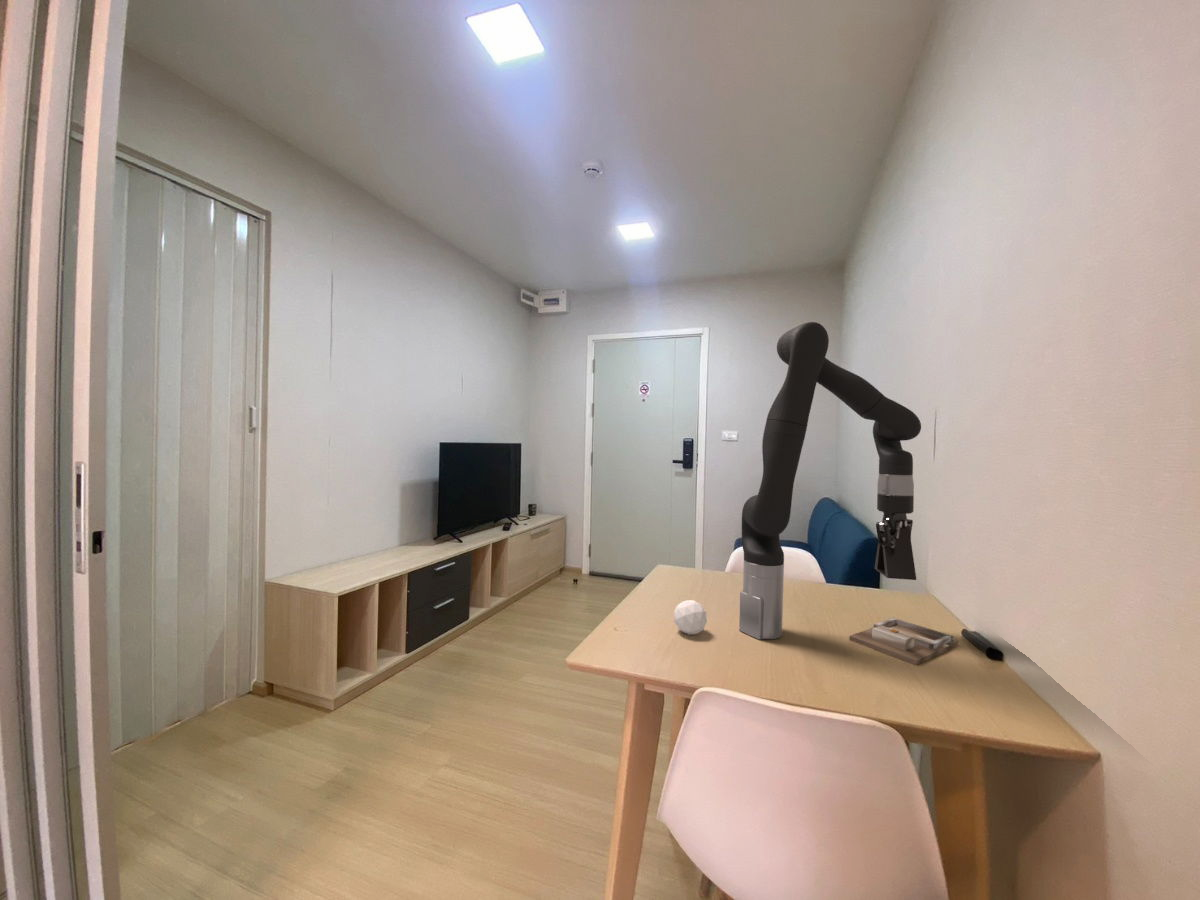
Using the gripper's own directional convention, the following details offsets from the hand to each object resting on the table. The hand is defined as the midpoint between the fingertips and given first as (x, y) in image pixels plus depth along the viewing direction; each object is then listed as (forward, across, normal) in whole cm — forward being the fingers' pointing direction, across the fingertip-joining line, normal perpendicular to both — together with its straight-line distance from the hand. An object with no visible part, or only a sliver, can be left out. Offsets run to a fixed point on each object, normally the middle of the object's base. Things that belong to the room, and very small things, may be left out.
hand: (894, 561), depth 110 cm
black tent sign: (+3, 0, 0) cm, 3 cm away
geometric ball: (+17, +45, -25) cm, 54 cm away
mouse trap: (+18, +4, +4) cm, 19 cm away
